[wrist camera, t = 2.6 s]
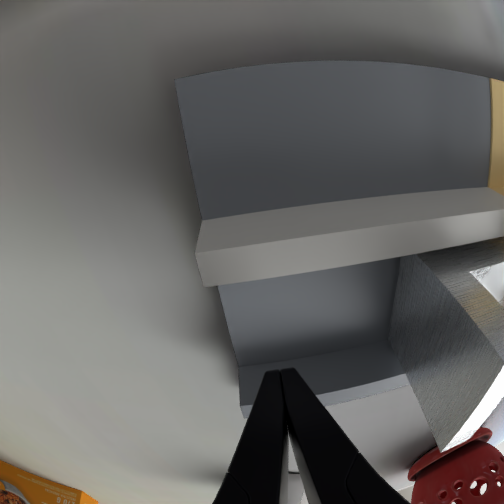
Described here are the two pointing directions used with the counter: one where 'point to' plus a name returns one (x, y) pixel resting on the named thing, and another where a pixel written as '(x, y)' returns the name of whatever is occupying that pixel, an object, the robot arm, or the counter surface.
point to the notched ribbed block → (452, 335)
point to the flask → (295, 489)
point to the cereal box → (36, 489)
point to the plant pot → (460, 473)
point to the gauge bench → (334, 204)
